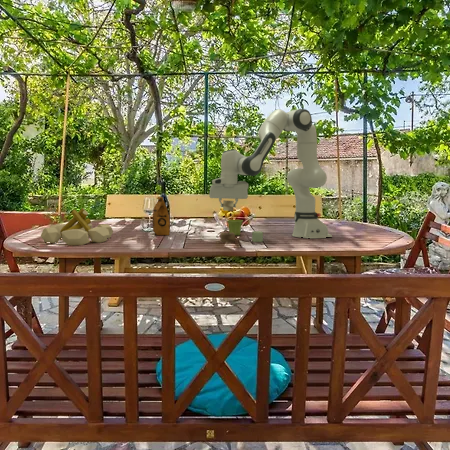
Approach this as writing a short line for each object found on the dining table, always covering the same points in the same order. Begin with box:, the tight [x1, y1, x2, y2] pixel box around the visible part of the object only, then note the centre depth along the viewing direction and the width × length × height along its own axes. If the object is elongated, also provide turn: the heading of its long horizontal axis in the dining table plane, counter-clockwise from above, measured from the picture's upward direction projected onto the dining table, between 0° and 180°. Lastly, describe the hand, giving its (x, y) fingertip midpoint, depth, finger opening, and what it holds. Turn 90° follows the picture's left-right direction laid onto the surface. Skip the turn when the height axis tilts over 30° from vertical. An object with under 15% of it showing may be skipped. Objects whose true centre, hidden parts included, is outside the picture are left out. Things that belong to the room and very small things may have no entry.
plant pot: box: [226, 219, 244, 236], centre depth 238 cm, size 9×9×9 cm
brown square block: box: [220, 232, 236, 243], centre depth 216 cm, size 7×7×4 cm
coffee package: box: [152, 196, 171, 236], centre depth 238 cm, size 10×12×22 cm
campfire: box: [40, 207, 114, 246], centre depth 215 cm, size 35×34×17 cm
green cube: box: [251, 230, 264, 243], centre depth 218 cm, size 5×5×5 cm
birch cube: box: [222, 199, 235, 212], centre depth 215 cm, size 5×5×5 cm
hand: (228, 207), depth 215 cm, fingers closed on birch cube, 5 cm apart
